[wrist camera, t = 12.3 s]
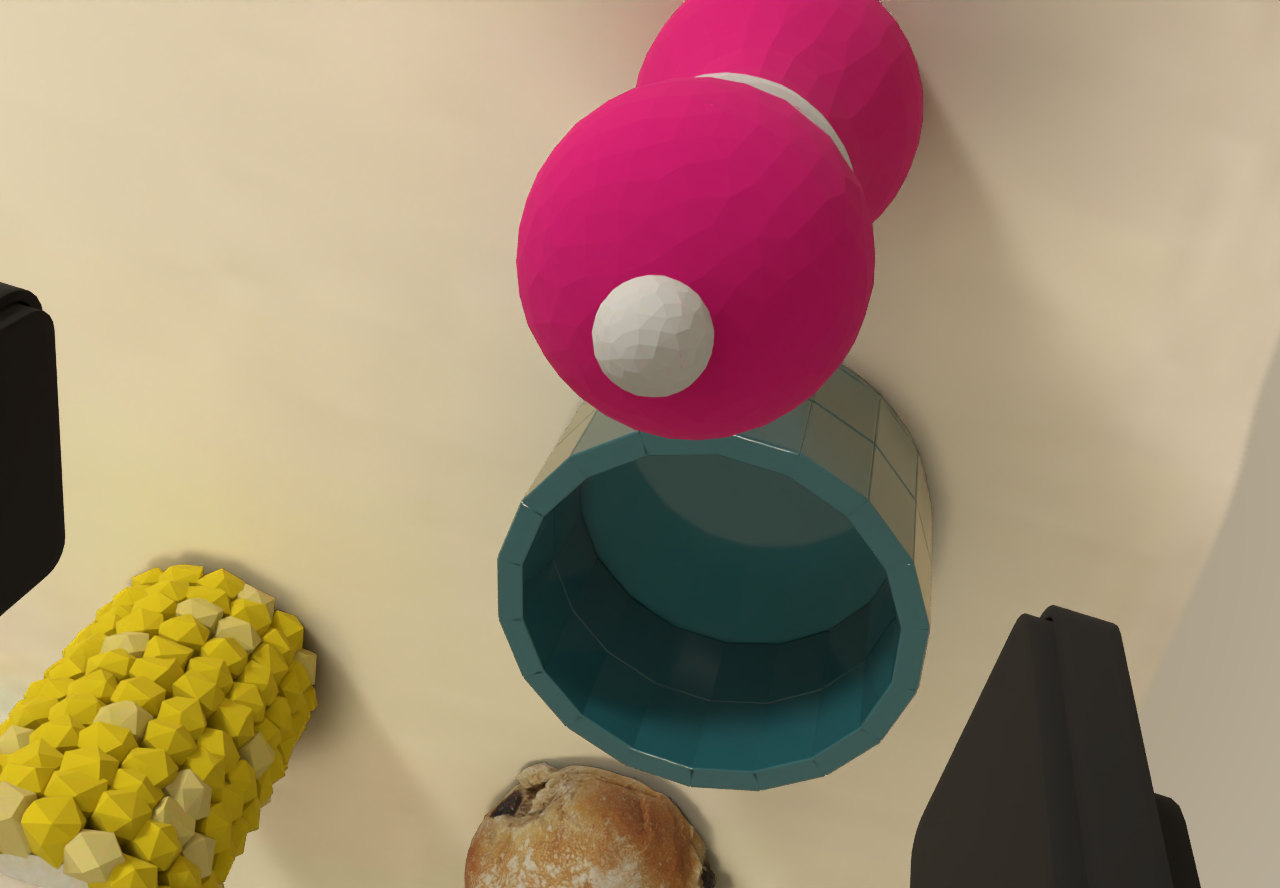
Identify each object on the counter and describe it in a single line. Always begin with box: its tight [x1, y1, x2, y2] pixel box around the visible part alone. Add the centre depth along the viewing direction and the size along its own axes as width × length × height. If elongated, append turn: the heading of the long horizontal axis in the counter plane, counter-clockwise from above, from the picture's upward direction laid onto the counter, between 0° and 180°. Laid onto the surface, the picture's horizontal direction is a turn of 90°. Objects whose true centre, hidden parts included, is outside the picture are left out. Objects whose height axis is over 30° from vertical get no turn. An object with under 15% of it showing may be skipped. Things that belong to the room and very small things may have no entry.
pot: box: [497, 365, 932, 791], centre depth 37 cm, size 13×13×7 cm
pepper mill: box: [516, 0, 923, 440], centre depth 25 cm, size 7×7×20 cm
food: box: [0, 564, 318, 888], centre depth 43 cm, size 15×12×10 cm
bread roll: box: [465, 762, 717, 888], centre depth 47 cm, size 10×10×8 cm
